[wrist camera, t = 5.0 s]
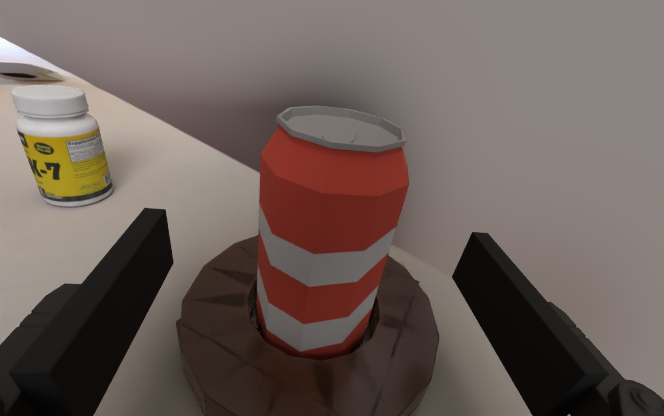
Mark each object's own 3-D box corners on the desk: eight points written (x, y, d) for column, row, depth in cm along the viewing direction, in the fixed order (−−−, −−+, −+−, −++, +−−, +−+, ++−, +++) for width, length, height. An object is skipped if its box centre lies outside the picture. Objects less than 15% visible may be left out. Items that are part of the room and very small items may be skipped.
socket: (442, 297, 22) (452, 276, 21) (387, 546, 11) (402, 527, 10) (279, 229, 26) (280, 208, 25) (120, 359, 15) (111, 332, 14)
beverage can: (239, 358, 16) (236, 129, 10) (279, 275, 22) (292, 95, 15) (355, 387, 16) (426, 166, 9) (365, 295, 21) (414, 118, 15)
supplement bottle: (28, 196, 25) (-16, 87, 21) (88, 176, 29) (61, 81, 25) (70, 215, 24) (32, 102, 20) (126, 191, 28) (105, 93, 23)
